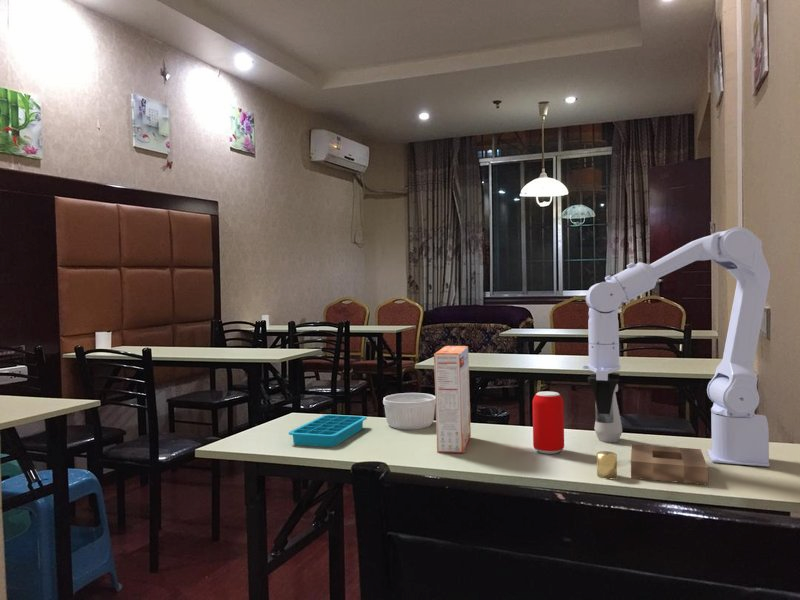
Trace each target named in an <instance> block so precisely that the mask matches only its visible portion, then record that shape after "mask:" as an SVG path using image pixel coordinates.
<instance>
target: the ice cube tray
mask: <svg viewBox="0 0 800 600" xmlns="http://www.w3.org/2000/svg"><path fill="white" fill-rule="evenodd" d="M367 418H368V417H367V416H364V415H347V414H346V415H345V414H344V415H342V414H324V415H321V416H319V417H317V418H314V419H313V420H311V421H309V422H306V423H305V424H301V426H298V427H296V428H294V429H292V430H289V432H288V435H290V436H292V440H293V441H292V443H293V445H295V446H296V445H297V446H309V447H310V446H312V447H324V448H326V447H327V448H330V447H331V448H332V447H336V446H337V445H339V444H341V443H342V442H344V441H345V440H347V439H349V438H351V437H352V436H353V435H355V434H357V433H359V432H360V431H362V430H363V425H364V423H363V422H364V421H365V420H367Z"/></svg>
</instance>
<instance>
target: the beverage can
mask: <svg viewBox="0 0 800 600" xmlns="http://www.w3.org/2000/svg"><path fill="white" fill-rule="evenodd" d="M564 402H565V401H564V399H563V397H562V395H561V393H559V392H556V391H549V390H547V391H538V392H537V393H535V395H534V396H533V398H532V442H533V443H532V446H533V448H534V449H535V450H536V451H537V452H538V453H541V454H545V455H554V454H555V455H556V454H558V453H559V452H561V451H563V449H564V448H565V410H564V409H565V406H564V405H565V403H564Z"/></svg>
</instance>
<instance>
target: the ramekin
mask: <svg viewBox="0 0 800 600" xmlns="http://www.w3.org/2000/svg"><path fill="white" fill-rule="evenodd" d="M382 404H383V405H384V414H385V418H386V423H387V424H388V426H389V427H391V428H392V429H396V430H397V429H398V430H404V431H405V430H407V431H408V430H410V431H411V430H420V429H426V428H428V427H431V425H433V423H434V421H435V420H434V419H435V414H436V400H435V394H434V395H433V394H430V393H423V392H422V393H421V392H404V393H395V394H394V393H393V394H390V395H389V394H388V395H386V396H385V397H383V400H382Z"/></svg>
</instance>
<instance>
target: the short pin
mask: <svg viewBox="0 0 800 600" xmlns="http://www.w3.org/2000/svg"><path fill="white" fill-rule="evenodd" d="M596 476H597V477H598V478H599V479H603V478H607V479H606V480H611V479H610V478H615V479H617V478H618V454H617V453H616V452H613V451H603V450H602V451H601V450H600V451H597V452H596Z"/></svg>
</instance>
